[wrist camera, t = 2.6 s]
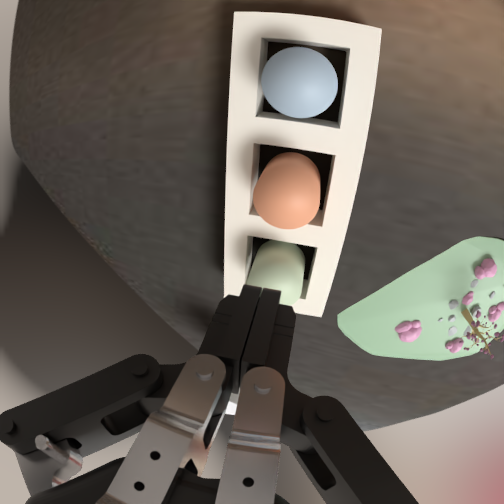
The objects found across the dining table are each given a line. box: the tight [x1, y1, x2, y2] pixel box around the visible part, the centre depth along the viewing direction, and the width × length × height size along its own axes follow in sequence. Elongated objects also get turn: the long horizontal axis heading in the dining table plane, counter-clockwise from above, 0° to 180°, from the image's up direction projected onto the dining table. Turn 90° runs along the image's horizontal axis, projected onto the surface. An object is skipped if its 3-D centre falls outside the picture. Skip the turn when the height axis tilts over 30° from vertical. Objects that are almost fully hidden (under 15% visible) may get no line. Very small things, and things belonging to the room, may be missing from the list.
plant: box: [337, 237, 504, 361], centre depth 26 cm, size 25×21×9 cm
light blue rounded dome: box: [261, 47, 338, 118], centre depth 17 cm, size 5×5×4 cm
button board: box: [224, 12, 382, 317], centre depth 24 cm, size 10×26×3 cm, turn 176°
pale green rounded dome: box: [247, 240, 305, 306], centre depth 27 cm, size 5×5×4 cm
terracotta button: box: [253, 152, 320, 229], centre depth 22 cm, size 5×5×4 cm
